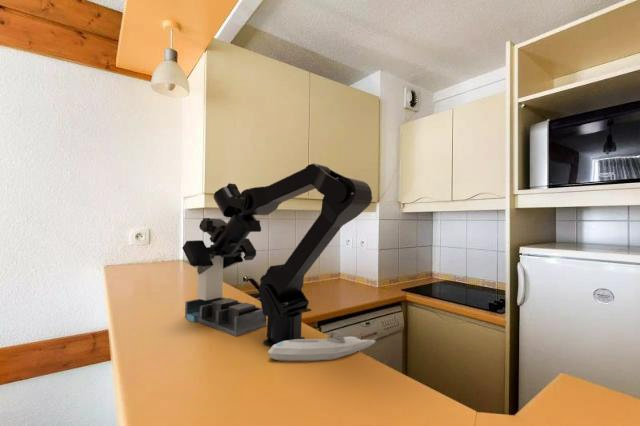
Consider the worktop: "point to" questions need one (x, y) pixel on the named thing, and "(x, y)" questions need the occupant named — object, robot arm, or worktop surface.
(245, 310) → the rack
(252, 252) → the robot arm
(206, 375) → the worktop surface
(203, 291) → the white rectangular block
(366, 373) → the worktop surface
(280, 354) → the white toy boat
